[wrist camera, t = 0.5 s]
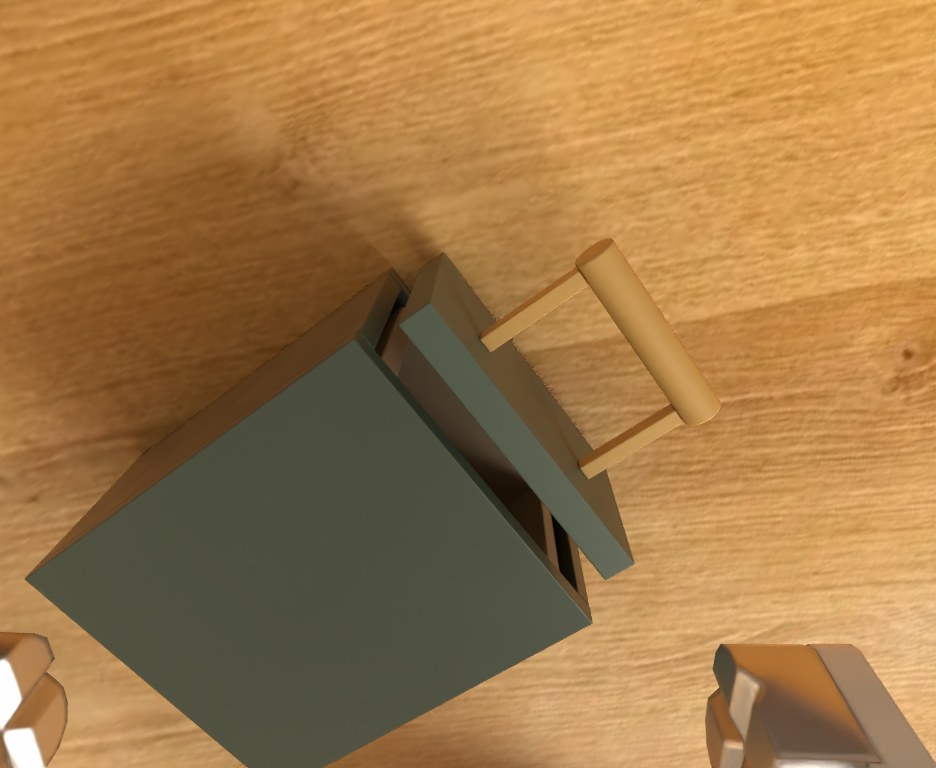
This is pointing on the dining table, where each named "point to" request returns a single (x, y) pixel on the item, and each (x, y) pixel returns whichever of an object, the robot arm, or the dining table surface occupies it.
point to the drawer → (538, 396)
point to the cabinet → (312, 557)
